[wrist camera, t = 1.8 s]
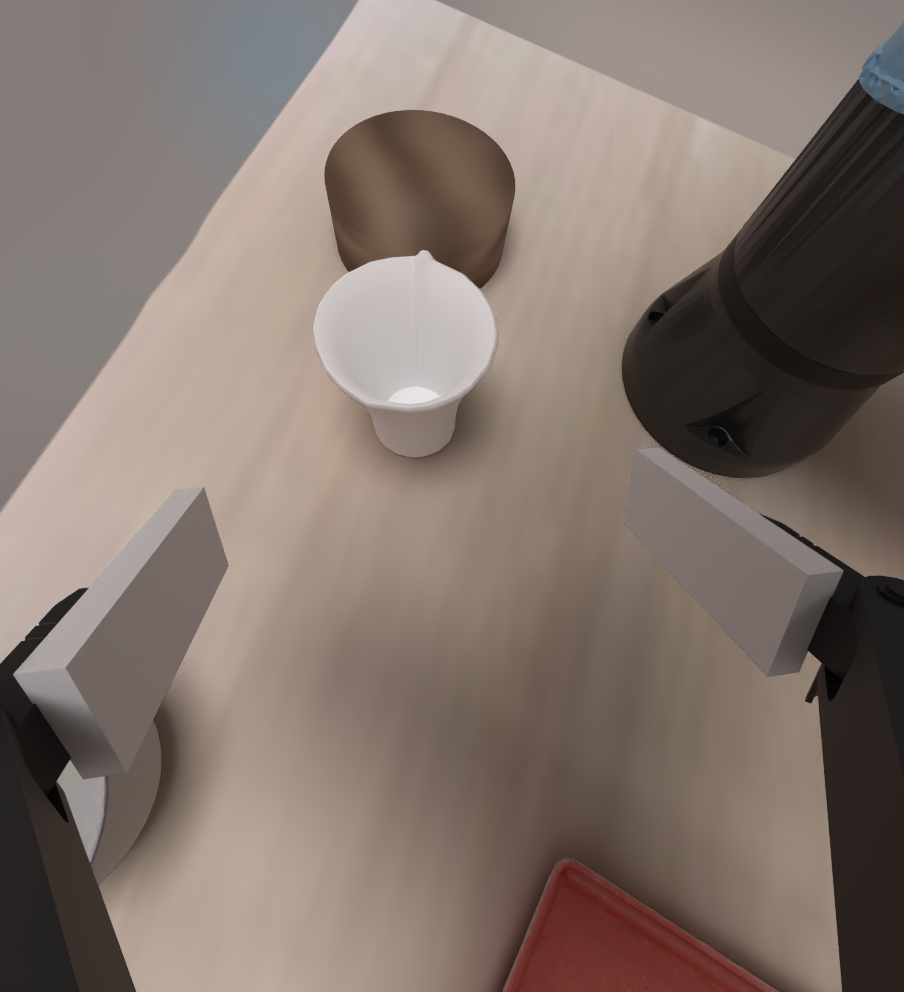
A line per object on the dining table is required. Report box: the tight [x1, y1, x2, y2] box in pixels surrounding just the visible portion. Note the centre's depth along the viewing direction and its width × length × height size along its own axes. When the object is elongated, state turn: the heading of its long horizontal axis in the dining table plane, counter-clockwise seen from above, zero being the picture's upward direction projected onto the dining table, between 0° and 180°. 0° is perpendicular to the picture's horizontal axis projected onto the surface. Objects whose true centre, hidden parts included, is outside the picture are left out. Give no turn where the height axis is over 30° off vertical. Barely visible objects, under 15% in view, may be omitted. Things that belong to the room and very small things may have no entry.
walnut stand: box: [325, 110, 515, 289], centre depth 34 cm, size 13×13×5 cm
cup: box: [313, 250, 498, 458], centre depth 27 cm, size 9×9×10 cm
